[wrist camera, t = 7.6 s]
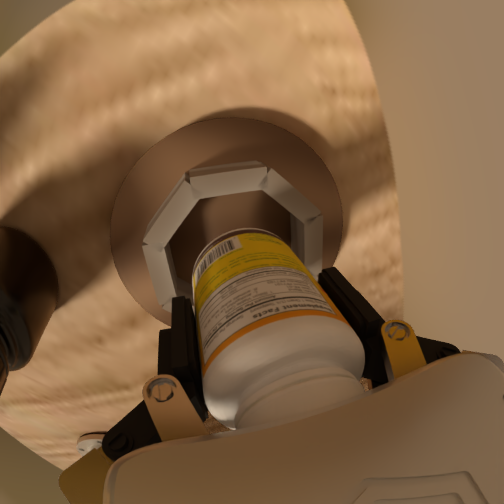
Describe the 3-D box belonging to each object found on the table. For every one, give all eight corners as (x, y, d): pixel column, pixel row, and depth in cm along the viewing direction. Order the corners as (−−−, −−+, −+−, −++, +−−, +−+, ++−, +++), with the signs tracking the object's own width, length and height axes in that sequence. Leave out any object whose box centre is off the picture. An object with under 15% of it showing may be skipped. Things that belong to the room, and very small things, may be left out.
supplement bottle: (278, 315, 17) (349, 464, 8) (186, 310, 16) (205, 489, 7) (305, 230, 15) (434, 371, 6) (199, 215, 14) (233, 404, 5)
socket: (328, 302, 25) (349, 330, 21) (148, 338, 23) (146, 373, 19) (331, 112, 18) (363, 113, 14) (93, 143, 15) (70, 150, 12)
